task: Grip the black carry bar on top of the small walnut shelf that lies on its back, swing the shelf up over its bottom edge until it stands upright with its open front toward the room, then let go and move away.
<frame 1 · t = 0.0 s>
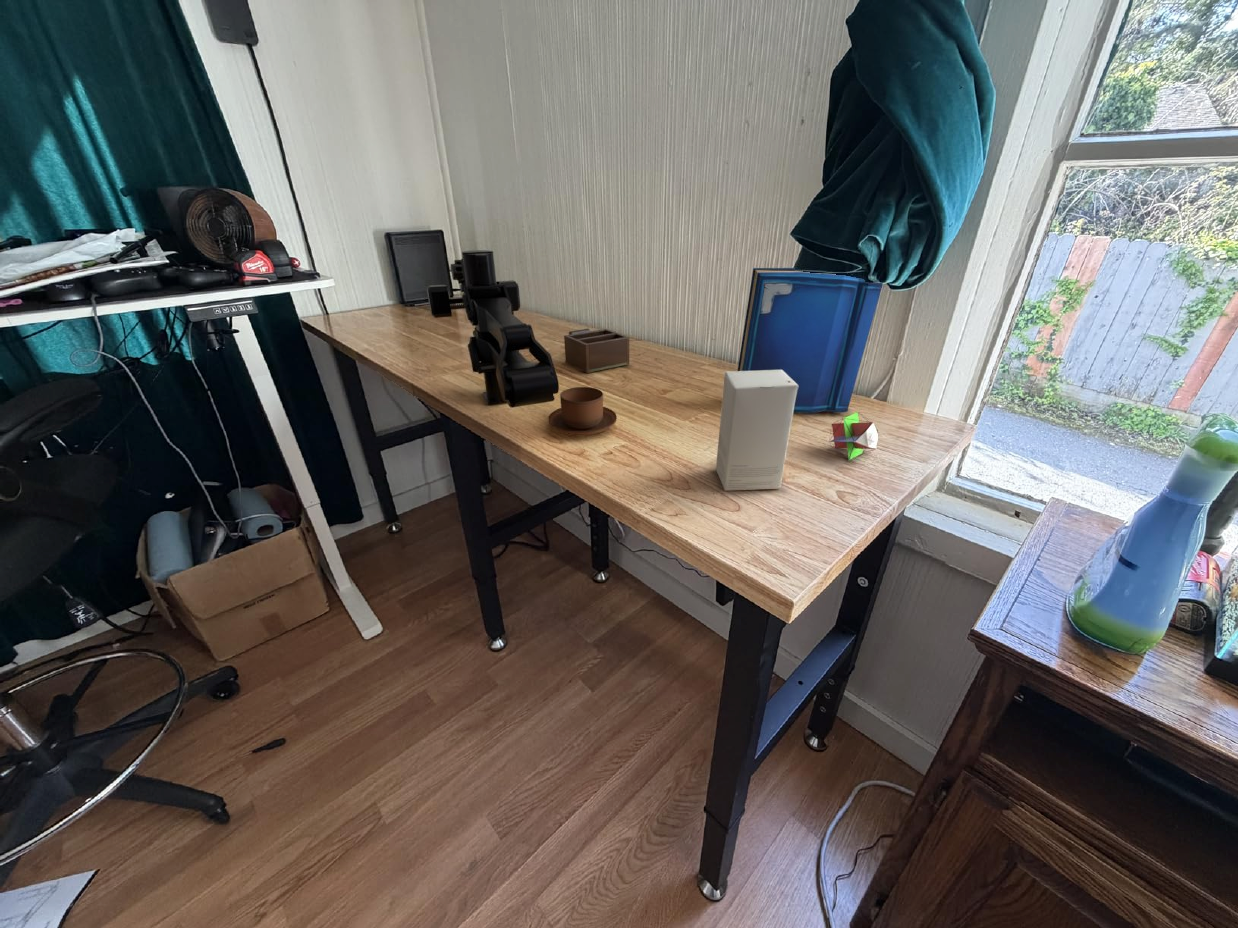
hand: (468, 292, 112), 17 cm above the table, tool horizontal, fingers open, 9 cm apart
geometric puzzle: (848, 455, 79), on the table
shelf: (592, 348, 119), point 4 cm above the table, hinge at 0.0°
cup and saucer: (582, 428, 87), on the table
book: (790, 408, 96), on the table
cosmetic box: (745, 481, 71), on the table
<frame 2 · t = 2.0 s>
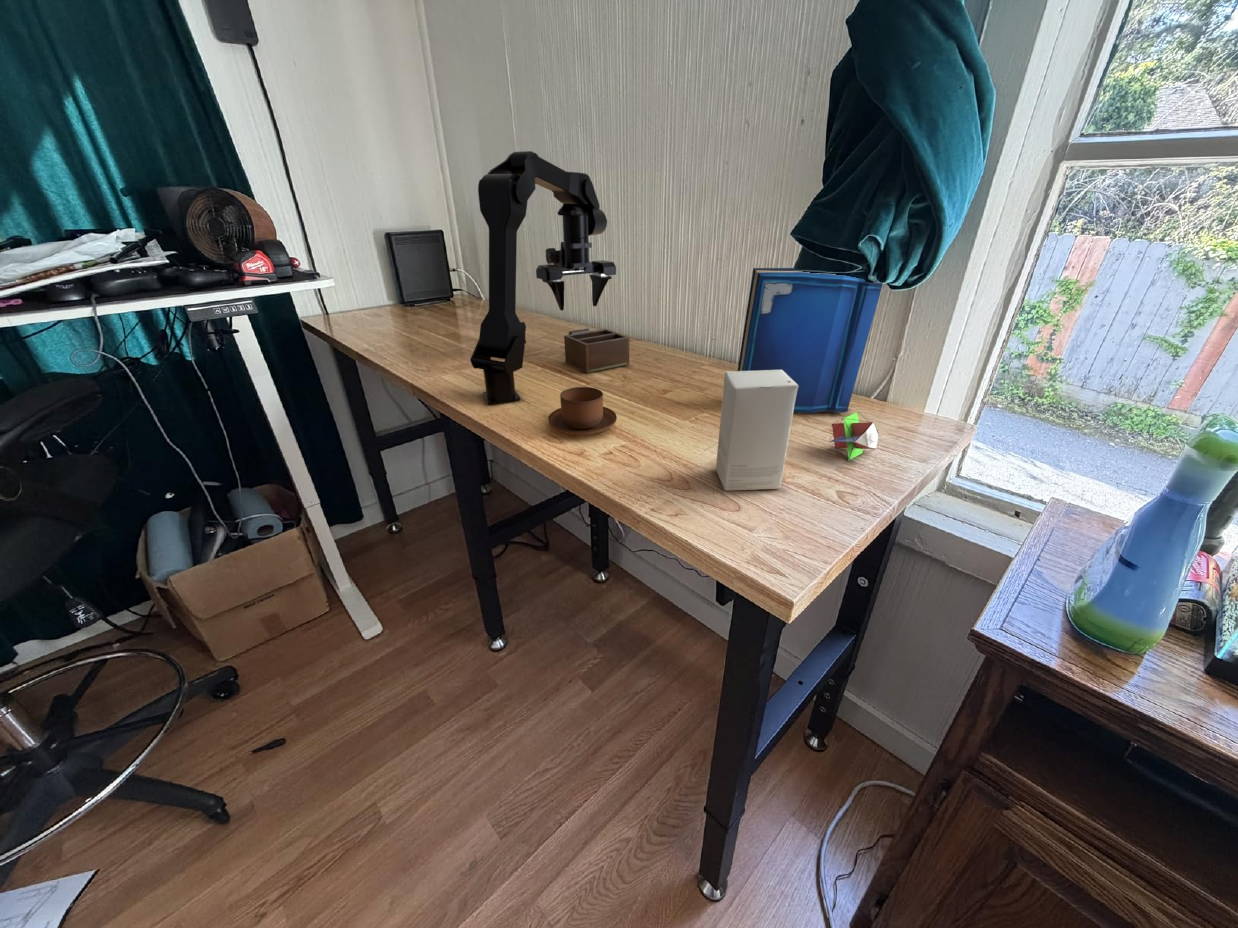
hand: (578, 308, 120), 12 cm above the table, tool pointing down, fingers open, 9 cm apart
nothing on the table moved.
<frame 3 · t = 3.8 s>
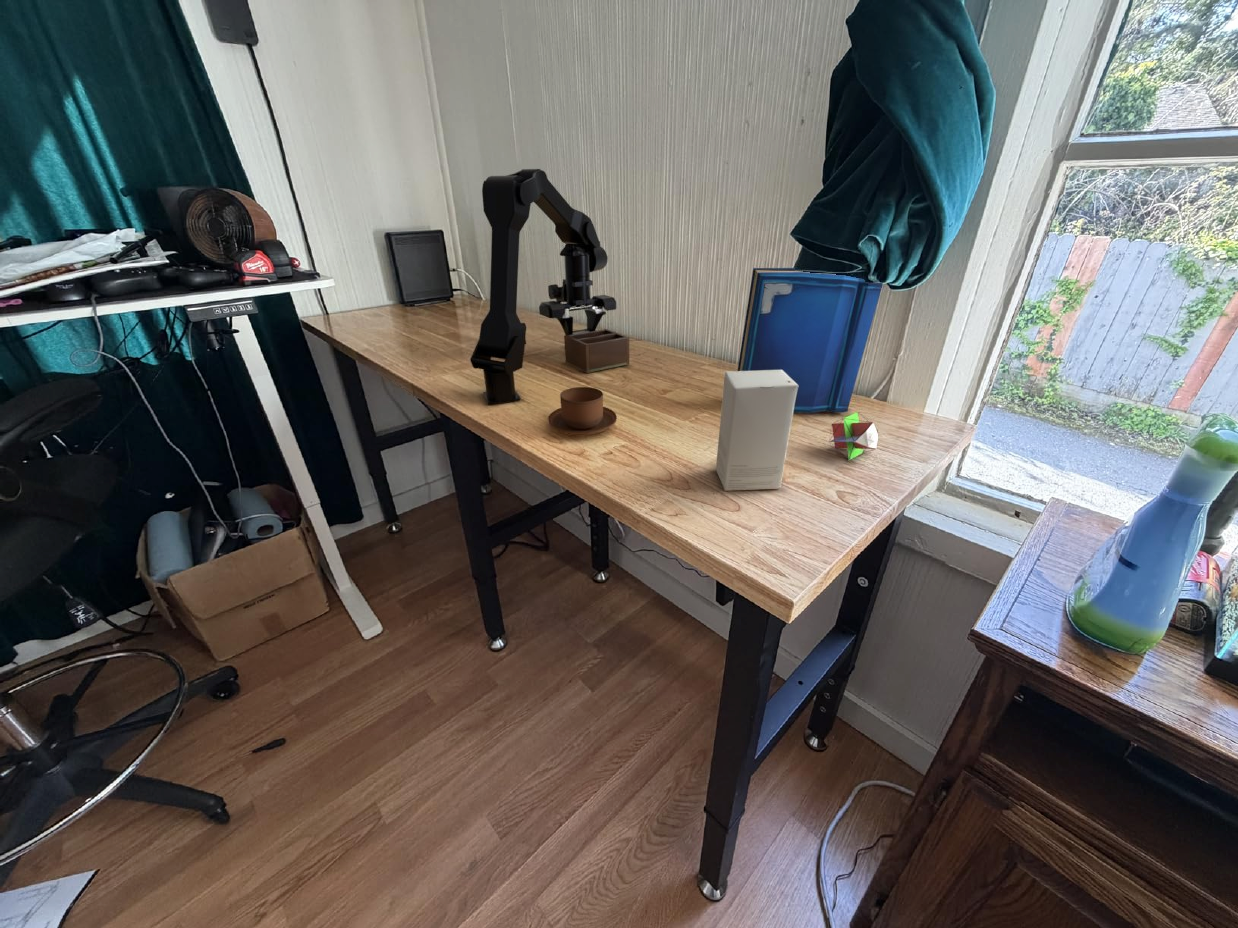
hand: (580, 341, 123), 4 cm above the table, tool pointing down, fingers closed on shelf, 5 cm apart
shelf: (592, 348, 119), point 4 cm above the table, hinge at 0.0°, touching gripper
everything else where it was.
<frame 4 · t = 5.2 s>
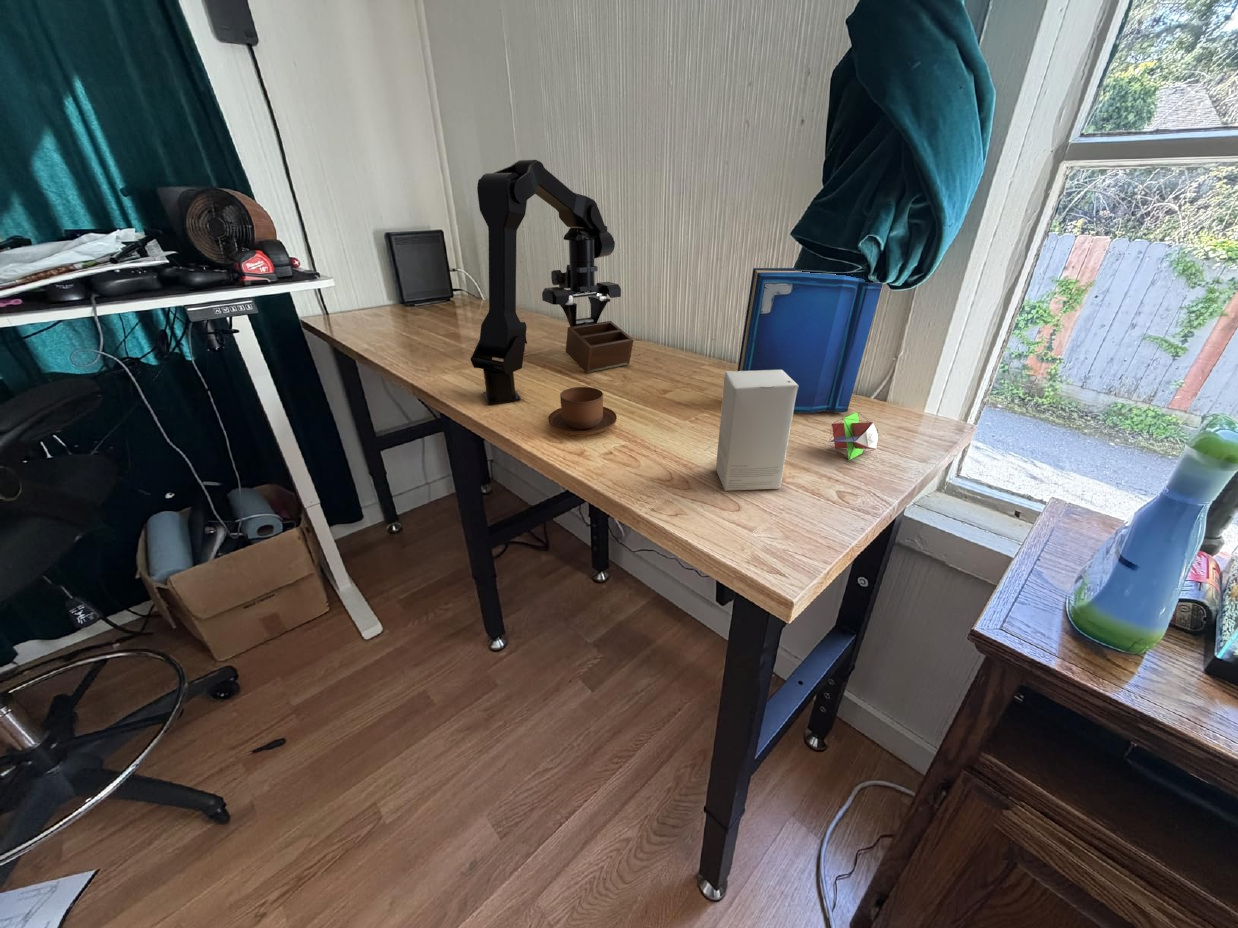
hand: (583, 329, 121), 7 cm above the table, tool pointing down, fingers closed on shelf, 5 cm apart
shelf: (594, 342, 118), point 5 cm above the table, hinge at 14.9°, touching gripper
everything else where it was.
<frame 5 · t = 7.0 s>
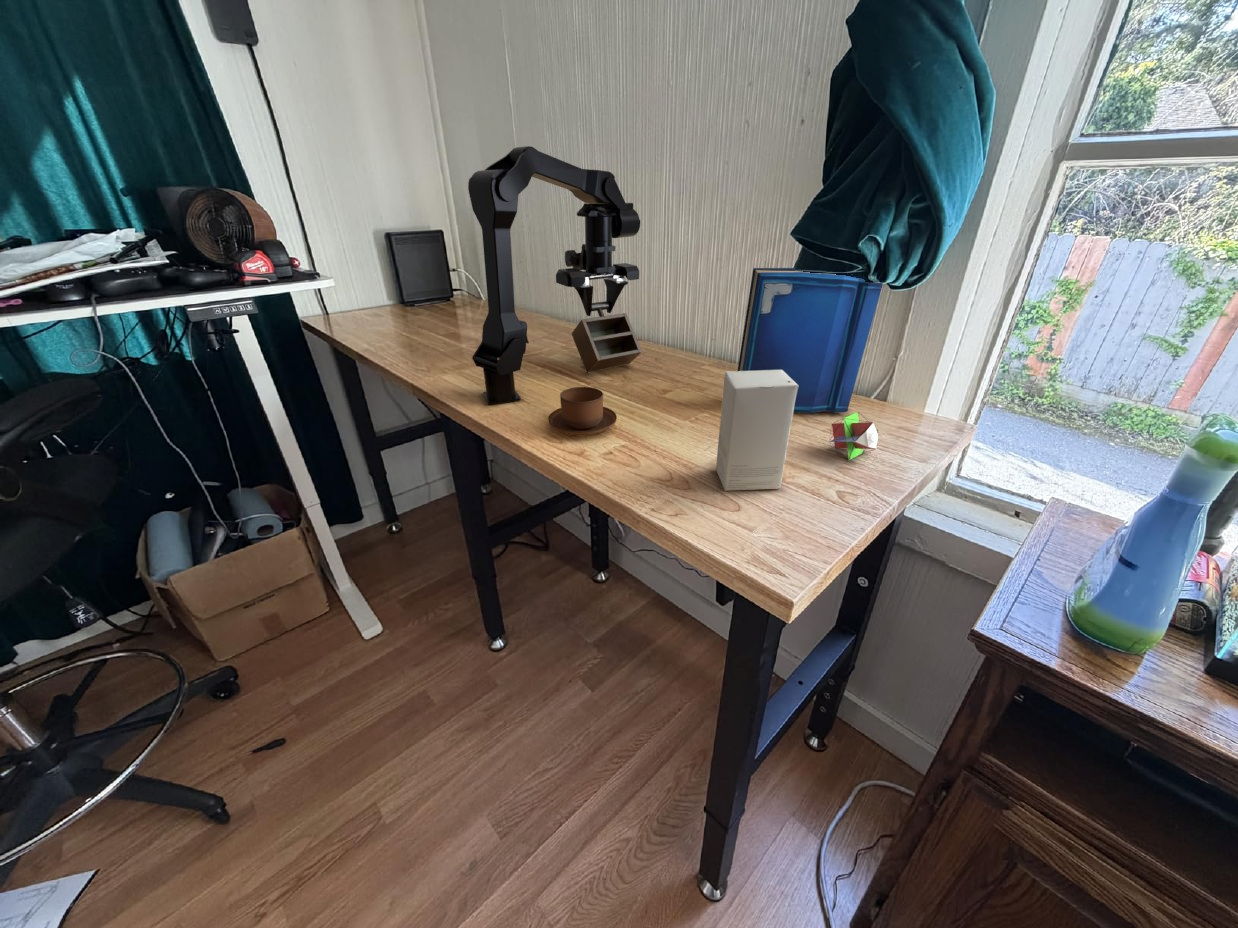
hand: (598, 314, 113), 12 cm above the table, tool pointing down, fingers closed on shelf, 5 cm apart
shelf: (603, 335, 114), point 8 cm above the table, hinge at 50.0°, touching gripper
everything else where it was.
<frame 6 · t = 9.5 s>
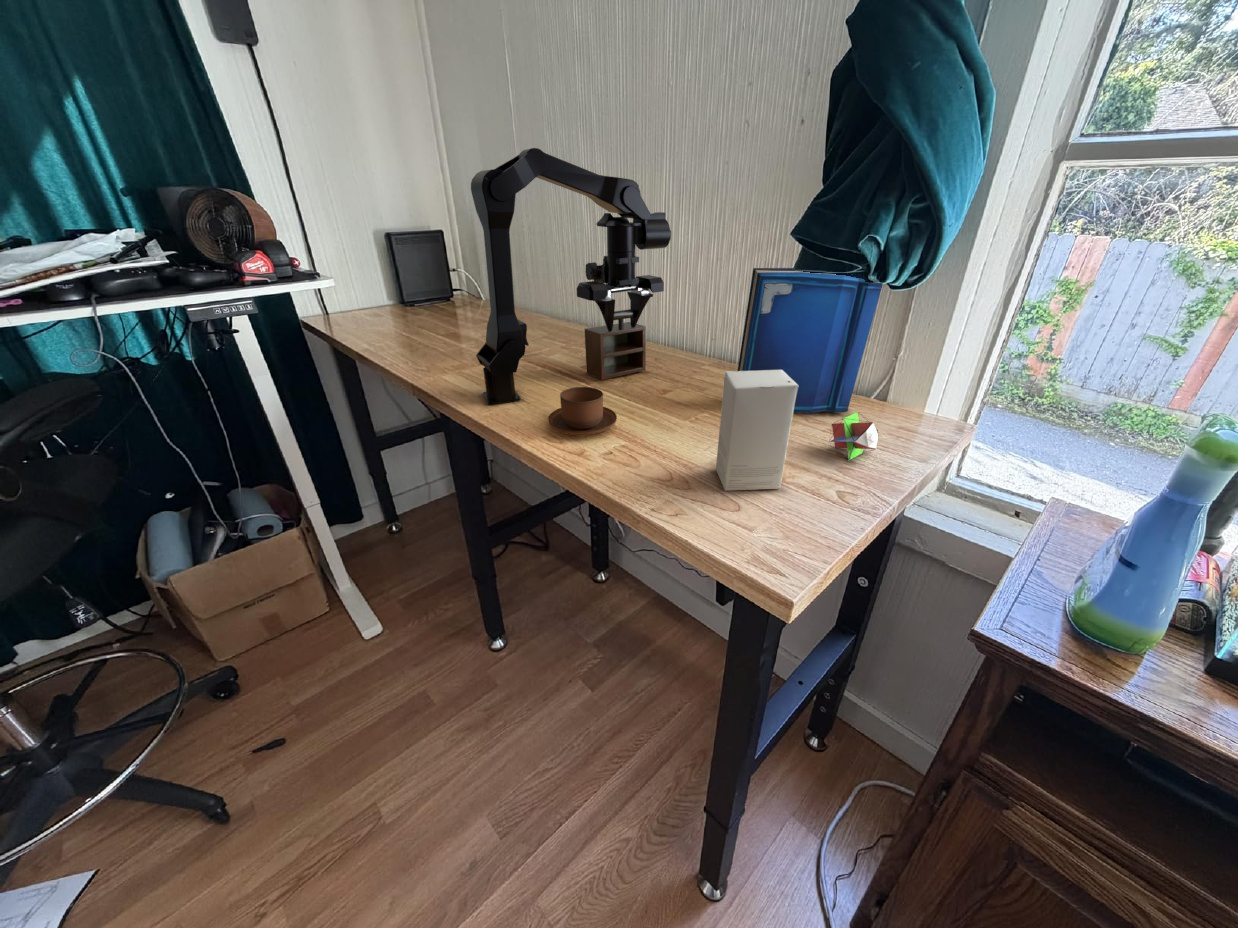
hand: (621, 328, 107), 11 cm above the table, tool pointing down, fingers open, 6 cm apart
shelf: (615, 341, 110), point 7 cm above the table, hinge at 87.8°, touching gripper
everything else where it was.
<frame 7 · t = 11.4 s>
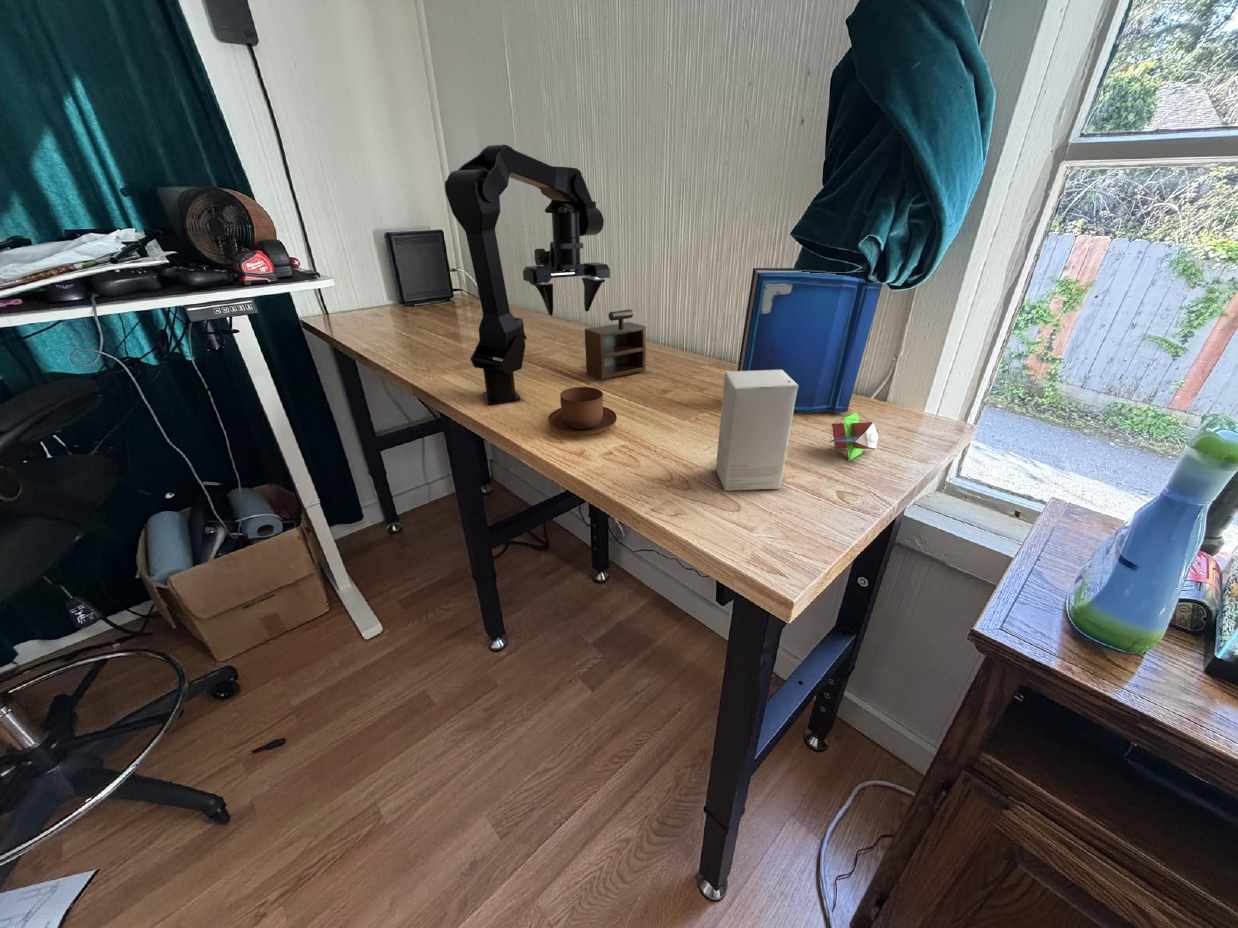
hand: (569, 313, 111), 13 cm above the table, tool pointing down, fingers open, 9 cm apart
shelf: (615, 341, 110), point 7 cm above the table, hinge at 88.0°
everything else where it was.
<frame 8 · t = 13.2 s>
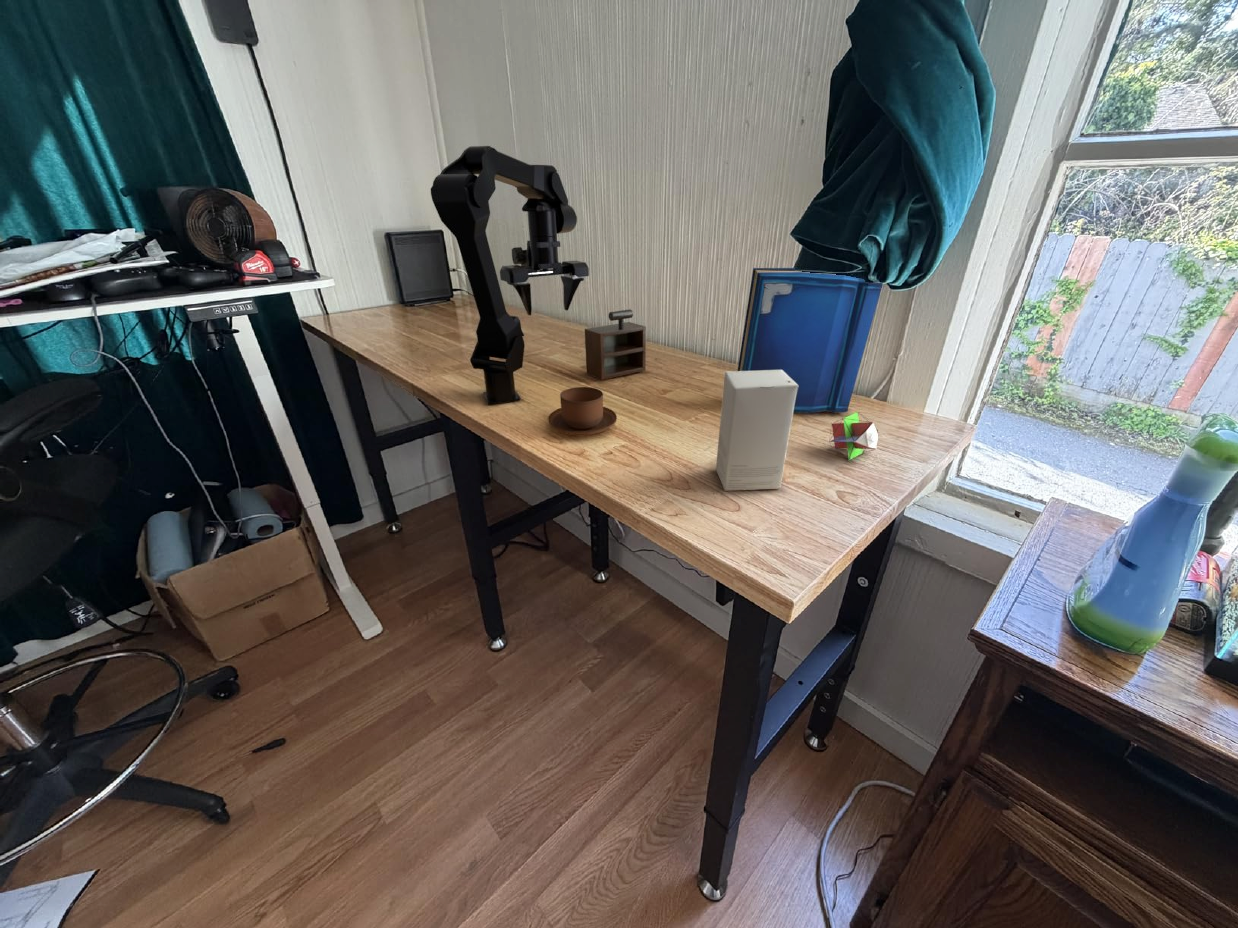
hand: (548, 312, 110), 13 cm above the table, tool pointing down, fingers open, 9 cm apart
nothing on the table moved.
at the end: shelf at +88° (first picture: +0°); the gripper is holding nothing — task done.
